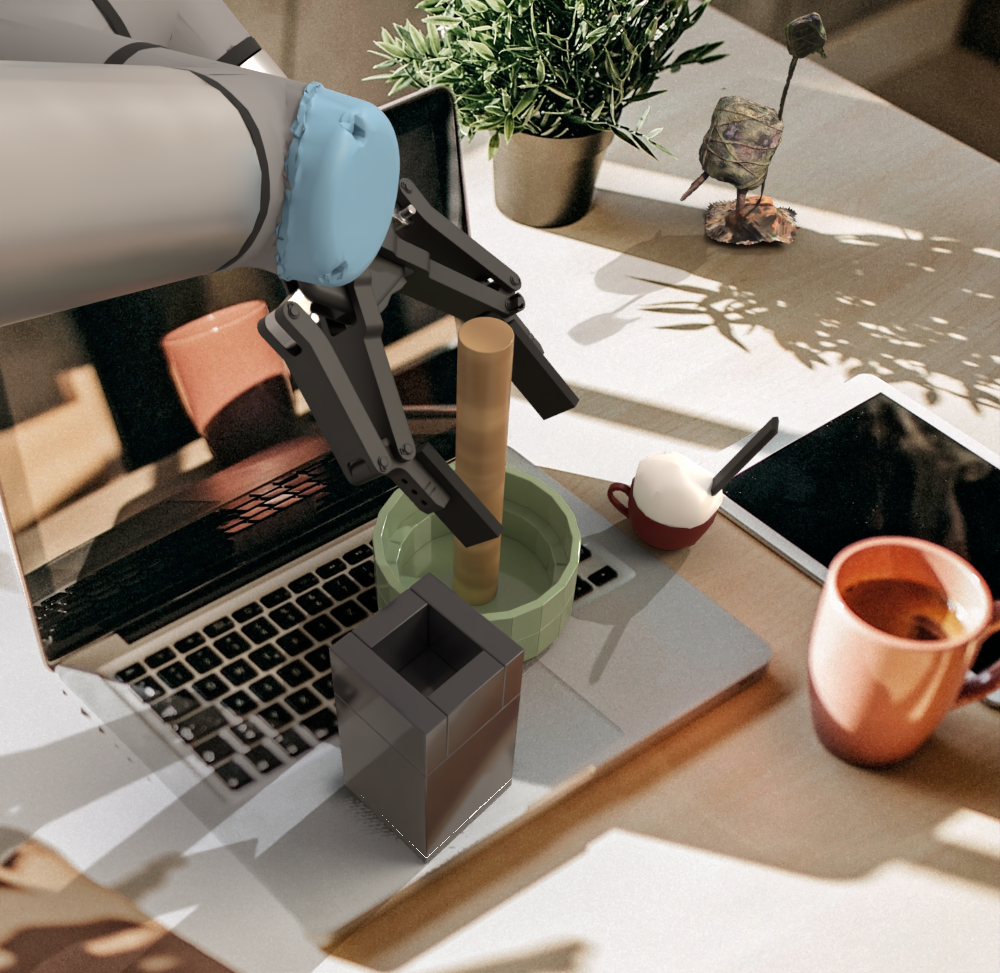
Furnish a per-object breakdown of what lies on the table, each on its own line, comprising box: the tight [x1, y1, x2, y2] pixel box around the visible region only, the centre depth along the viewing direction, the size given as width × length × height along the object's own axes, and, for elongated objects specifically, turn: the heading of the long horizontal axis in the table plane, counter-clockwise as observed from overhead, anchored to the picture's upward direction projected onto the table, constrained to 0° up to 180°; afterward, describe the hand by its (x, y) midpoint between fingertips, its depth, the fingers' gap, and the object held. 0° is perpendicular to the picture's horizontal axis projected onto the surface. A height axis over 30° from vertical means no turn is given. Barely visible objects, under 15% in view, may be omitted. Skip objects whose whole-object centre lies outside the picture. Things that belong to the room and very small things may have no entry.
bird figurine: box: [679, 11, 828, 246], centre depth 101 cm, size 8×11×20 cm
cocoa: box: [606, 416, 780, 551], centre depth 78 cm, size 10×6×12 cm, turn 54°
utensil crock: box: [328, 573, 525, 865], centre depth 63 cm, size 7×7×14 cm
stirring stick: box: [453, 317, 514, 606], centre depth 69 cm, size 3×3×22 cm
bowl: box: [371, 463, 582, 662], centre depth 75 cm, size 13×13×6 cm
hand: (525, 470), depth 67 cm, fingers open, 11 cm apart
